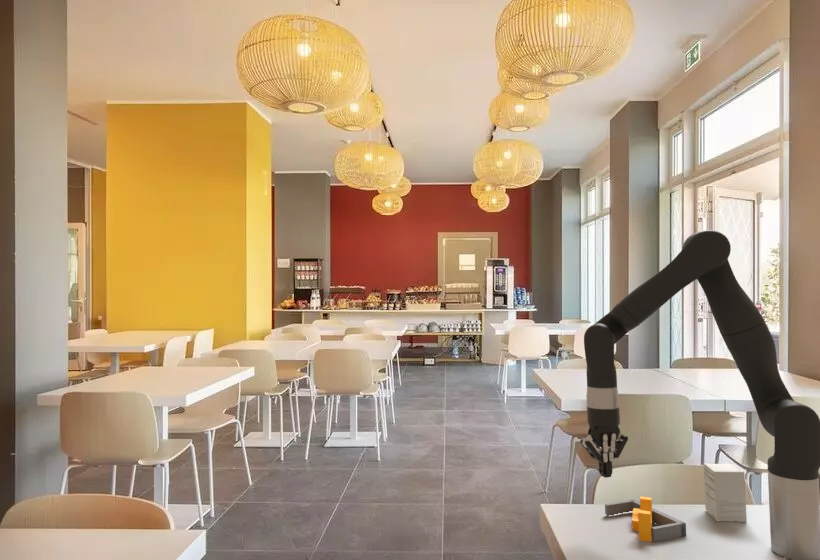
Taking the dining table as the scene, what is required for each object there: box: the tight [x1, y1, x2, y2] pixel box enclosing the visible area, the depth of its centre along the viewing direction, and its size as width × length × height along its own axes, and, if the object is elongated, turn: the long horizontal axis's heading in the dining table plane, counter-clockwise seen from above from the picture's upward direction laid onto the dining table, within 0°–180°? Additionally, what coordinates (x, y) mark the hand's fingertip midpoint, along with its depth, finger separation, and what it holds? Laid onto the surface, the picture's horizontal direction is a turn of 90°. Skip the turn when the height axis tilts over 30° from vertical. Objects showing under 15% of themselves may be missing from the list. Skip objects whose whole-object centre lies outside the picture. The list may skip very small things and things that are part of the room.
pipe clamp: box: [631, 495, 653, 543], centre depth 132 cm, size 12×4×6 cm, turn 154°
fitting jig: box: [604, 499, 687, 543], centre depth 135 cm, size 10×17×3 cm, turn 20°
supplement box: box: [703, 463, 748, 523], centre depth 140 cm, size 7×7×13 cm
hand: (606, 476), depth 132 cm, fingers closed
